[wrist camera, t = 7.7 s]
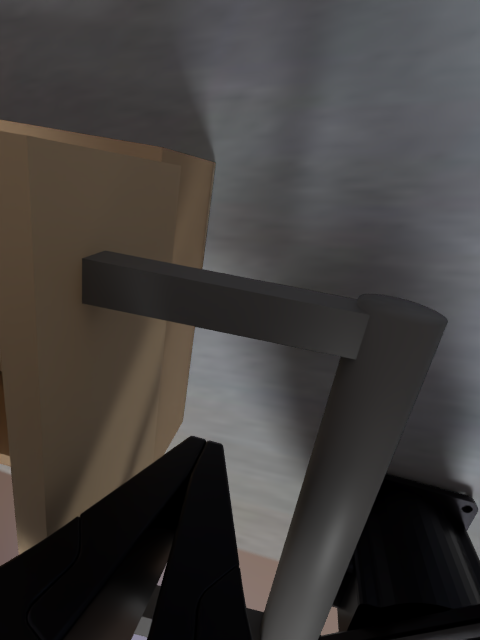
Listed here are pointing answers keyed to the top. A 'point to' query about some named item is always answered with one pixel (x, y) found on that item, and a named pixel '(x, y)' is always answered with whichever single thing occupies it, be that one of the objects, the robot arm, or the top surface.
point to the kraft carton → (185, 252)
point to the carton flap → (147, 356)
